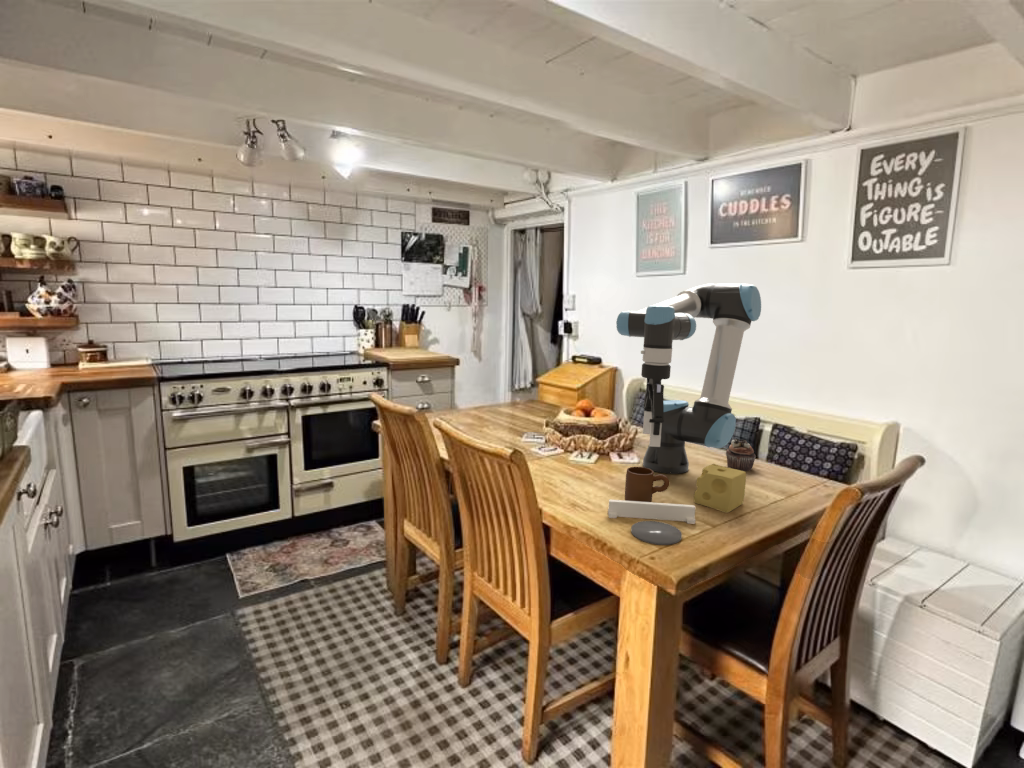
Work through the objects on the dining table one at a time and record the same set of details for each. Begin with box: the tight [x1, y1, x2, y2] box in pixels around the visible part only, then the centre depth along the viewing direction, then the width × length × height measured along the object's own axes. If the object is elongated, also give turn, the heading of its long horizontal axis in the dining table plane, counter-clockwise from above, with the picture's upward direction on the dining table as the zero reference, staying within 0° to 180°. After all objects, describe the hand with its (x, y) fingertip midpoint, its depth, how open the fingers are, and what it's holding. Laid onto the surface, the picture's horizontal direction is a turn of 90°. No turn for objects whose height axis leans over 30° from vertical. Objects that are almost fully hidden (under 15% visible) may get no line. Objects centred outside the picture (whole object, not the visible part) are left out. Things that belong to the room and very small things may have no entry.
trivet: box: [630, 520, 683, 546], centre depth 134 cm, size 12×12×1 cm
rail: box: [607, 499, 696, 525], centre depth 143 cm, size 4×22×4 cm, turn 83°
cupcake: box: [725, 437, 757, 472], centre depth 189 cm, size 10×10×10 cm
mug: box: [624, 466, 670, 502], centre depth 153 cm, size 12×8×9 cm, turn 66°
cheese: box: [693, 463, 747, 514], centre depth 154 cm, size 10×11×10 cm
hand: (651, 439), depth 150 cm, fingers open, 13 cm apart
